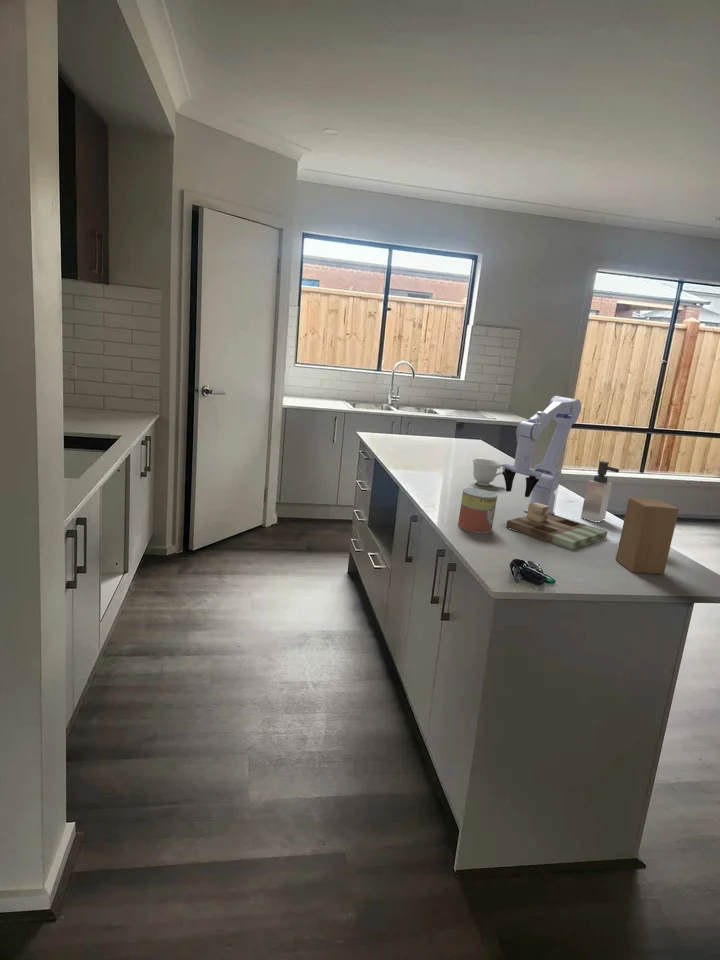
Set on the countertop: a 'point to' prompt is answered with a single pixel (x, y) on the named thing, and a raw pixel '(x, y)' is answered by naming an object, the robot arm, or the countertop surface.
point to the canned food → (477, 510)
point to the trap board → (558, 531)
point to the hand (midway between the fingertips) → (517, 494)
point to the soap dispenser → (597, 494)
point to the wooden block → (646, 535)
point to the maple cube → (537, 512)
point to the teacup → (485, 471)
